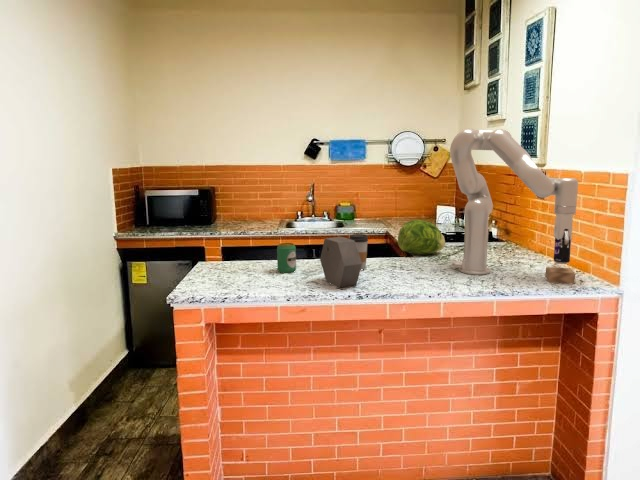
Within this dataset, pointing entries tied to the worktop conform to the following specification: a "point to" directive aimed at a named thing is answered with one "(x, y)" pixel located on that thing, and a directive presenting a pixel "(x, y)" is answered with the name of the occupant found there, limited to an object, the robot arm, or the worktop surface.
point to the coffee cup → (361, 247)
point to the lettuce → (420, 238)
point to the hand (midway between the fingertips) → (561, 255)
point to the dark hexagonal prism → (340, 261)
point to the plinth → (560, 275)
